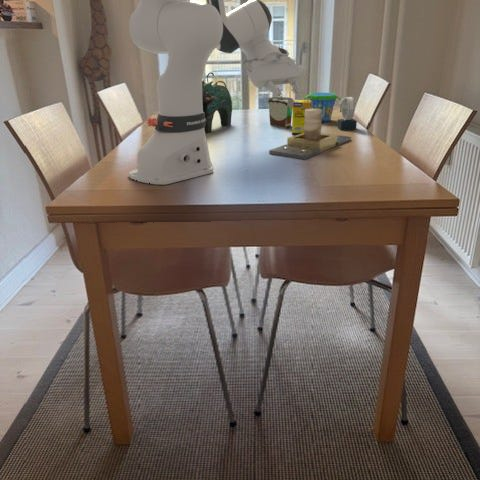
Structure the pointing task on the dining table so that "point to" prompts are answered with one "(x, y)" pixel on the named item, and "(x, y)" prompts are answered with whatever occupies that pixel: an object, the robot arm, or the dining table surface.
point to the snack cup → (323, 103)
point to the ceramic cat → (216, 103)
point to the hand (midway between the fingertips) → (288, 93)
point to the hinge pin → (312, 124)
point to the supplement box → (299, 115)
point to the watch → (347, 114)
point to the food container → (280, 111)
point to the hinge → (308, 145)
